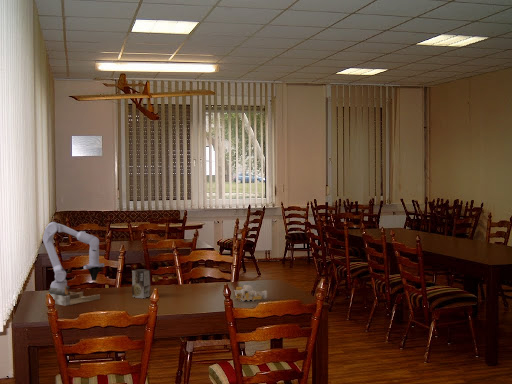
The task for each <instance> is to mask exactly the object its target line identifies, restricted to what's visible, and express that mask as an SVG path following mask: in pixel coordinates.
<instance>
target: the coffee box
mask: <svg viewBox="0 0 512 384" xmlns="http://www.w3.org/2000/svg"><path fill="white" fill-rule="evenodd" d="M131 272H132V273H131V275H132V277H131V278H132V280H131V282H132V284H131V287H132V289H131V290H132V293H131V294H132V295H131V296H132V298H134V297H135V298H137V299H143V298H144V299H147V298H146V297H149V296H150V297H151V269H141V268H138V269H134V270H131ZM150 297H149V298H150ZM135 298H134V299H135Z"/></svg>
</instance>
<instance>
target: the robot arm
mask: <svg viewBox="0 0 512 384" xmlns="http://www.w3.org/2000/svg"><path fill="white" fill-rule="evenodd" d="M57 232H58V233H66V234H68V235H71V236H73V237H75V238H76V240H77V241H79V242H81V243H83V244H86V245H89V250H88V255H89V256H88V259H89V260H88V264H87V265H83V270H87V271H88V272H89V275H90V277H91V280H92V281H96V280H97V278H98V274H99V273H100V270H101V268H105V263H104V262H102V263H101V262H100V239H99V238H98V237H97V236H95V235H93V234H89V233H86V232H87V231H85V230H81V231H77V230H76V229H73V228H72V227H68V226H67V225H65V224H61V223H57V222H56V221H51V222H49V223H48V224H47V225H46V226H45V229H44V232H43V236H42V242H43V245H44V247H45V250H46V252H47V255H48V258H49V261H50V263H51V265H52V266H51V267H52V268H53V272H54V280H53V281H51V284H50V286H49V287H50V288H57V289H64V290H65V286H68V280H67V279H66V277H67V271H66V270H65V269H64V267H63V265H62V264H61V261H60V259H59V256H58V253H57V250H56V247H55V246H54V242H53V238H54V235H55V234H56V233H57ZM50 288H49V289H50Z"/></svg>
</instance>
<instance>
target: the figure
mask: <svg viewBox="0 0 512 384" xmlns="http://www.w3.org/2000/svg"><path fill="white" fill-rule="evenodd" d="M235 289H236V290H235ZM235 289H234V290H233V292H234V295H235V299H236V298H239V299H238V300H237V301H241V300H242V301H241V302H246V301H245V300H255V301H256V300H262V299H263V298H264V299H263V300H265V299H267V298H268V291H267V290H262V291H256V290H254V289H253V286H252V285H250V284H244V285H243V287H242V286H236V288H235ZM262 297H263V298H262ZM240 299H241V300H240Z"/></svg>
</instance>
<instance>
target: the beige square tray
mask: <svg viewBox="0 0 512 384" xmlns="http://www.w3.org/2000/svg"><path fill="white" fill-rule="evenodd" d="M67 295H69V296H70V300H71V299H76V298H81V293H78V292H74V291H68V294H67Z"/></svg>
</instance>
